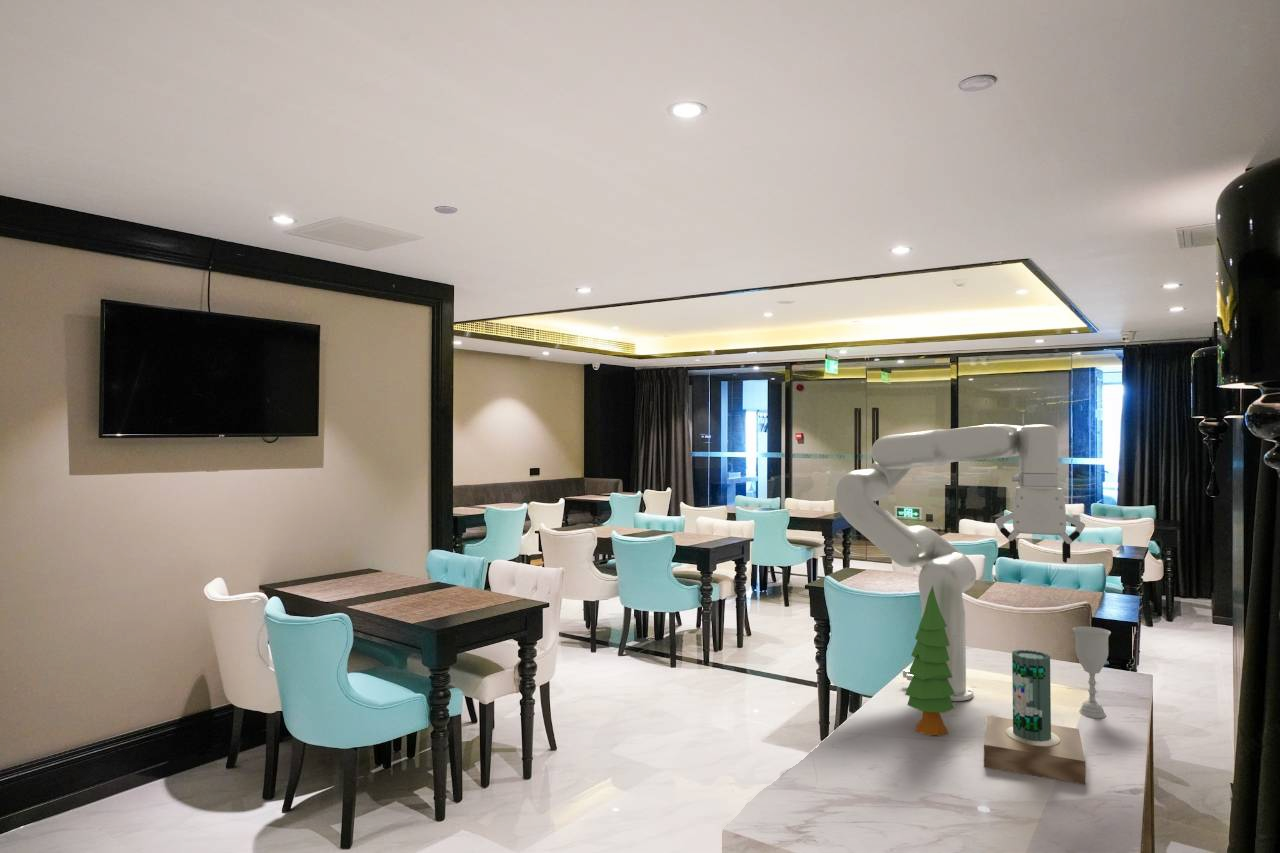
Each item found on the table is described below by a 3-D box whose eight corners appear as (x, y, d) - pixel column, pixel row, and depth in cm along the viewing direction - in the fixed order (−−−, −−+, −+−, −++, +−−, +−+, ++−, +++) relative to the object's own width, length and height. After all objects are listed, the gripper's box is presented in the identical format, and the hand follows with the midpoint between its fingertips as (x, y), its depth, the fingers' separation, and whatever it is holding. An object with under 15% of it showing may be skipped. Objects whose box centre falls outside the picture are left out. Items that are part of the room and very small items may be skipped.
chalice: (1102, 708, 167) (1101, 626, 167) (1118, 719, 160) (1117, 634, 160) (1067, 707, 167) (1066, 626, 167) (1082, 718, 160) (1081, 634, 161)
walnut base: (984, 766, 138) (983, 743, 138) (987, 735, 152) (987, 714, 152) (1085, 784, 130) (1085, 759, 130) (1078, 749, 145) (1078, 727, 145)
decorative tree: (937, 742, 148) (936, 590, 149) (894, 728, 156) (893, 583, 156) (962, 730, 155) (960, 583, 155) (919, 717, 162) (918, 577, 162)
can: (1006, 730, 143) (1005, 651, 144) (1031, 726, 145) (1030, 648, 145) (1031, 743, 138) (1031, 660, 138) (1057, 738, 139) (1057, 657, 140)
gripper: (994, 481, 165) (995, 559, 164) (1086, 483, 157) (1086, 565, 157) (995, 479, 171) (995, 554, 171) (1083, 481, 164) (1084, 560, 163)
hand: (1039, 560), depth 164 cm, fingers open, 9 cm apart
